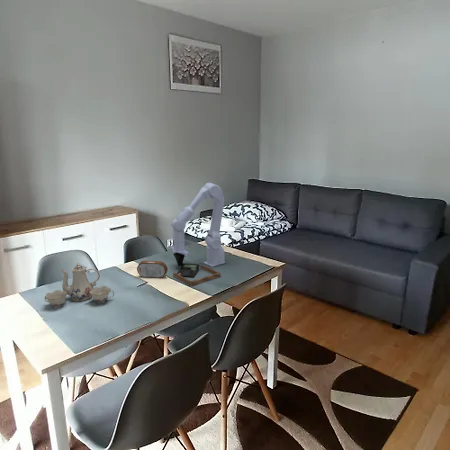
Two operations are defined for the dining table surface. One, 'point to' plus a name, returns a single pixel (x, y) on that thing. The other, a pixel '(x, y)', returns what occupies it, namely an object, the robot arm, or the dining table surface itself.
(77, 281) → the chinaware
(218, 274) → the brown angled flat piece
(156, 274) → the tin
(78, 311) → the dining table surface
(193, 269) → the calculator
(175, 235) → the robot arm
